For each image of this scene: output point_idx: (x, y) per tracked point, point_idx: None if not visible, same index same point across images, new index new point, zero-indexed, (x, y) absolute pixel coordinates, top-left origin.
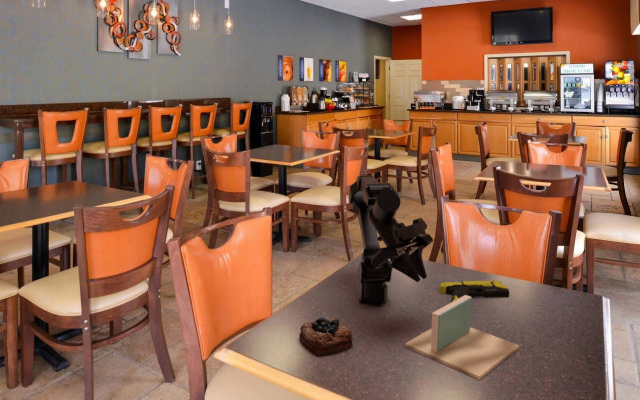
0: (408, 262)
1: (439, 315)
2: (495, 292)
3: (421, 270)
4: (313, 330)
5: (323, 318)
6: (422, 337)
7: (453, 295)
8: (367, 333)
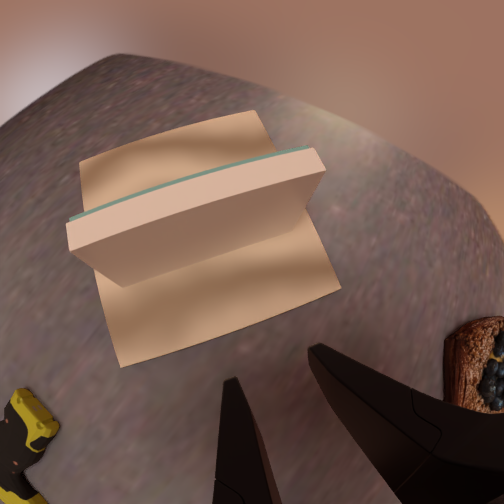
0: (452, 425)
1: (308, 147)
2: None
3: (257, 430)
4: None
5: None
6: (275, 298)
7: (31, 453)
8: None
